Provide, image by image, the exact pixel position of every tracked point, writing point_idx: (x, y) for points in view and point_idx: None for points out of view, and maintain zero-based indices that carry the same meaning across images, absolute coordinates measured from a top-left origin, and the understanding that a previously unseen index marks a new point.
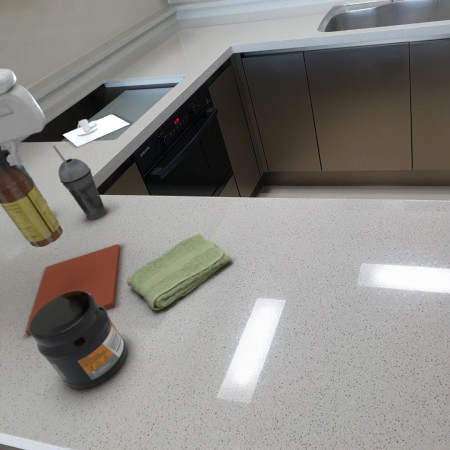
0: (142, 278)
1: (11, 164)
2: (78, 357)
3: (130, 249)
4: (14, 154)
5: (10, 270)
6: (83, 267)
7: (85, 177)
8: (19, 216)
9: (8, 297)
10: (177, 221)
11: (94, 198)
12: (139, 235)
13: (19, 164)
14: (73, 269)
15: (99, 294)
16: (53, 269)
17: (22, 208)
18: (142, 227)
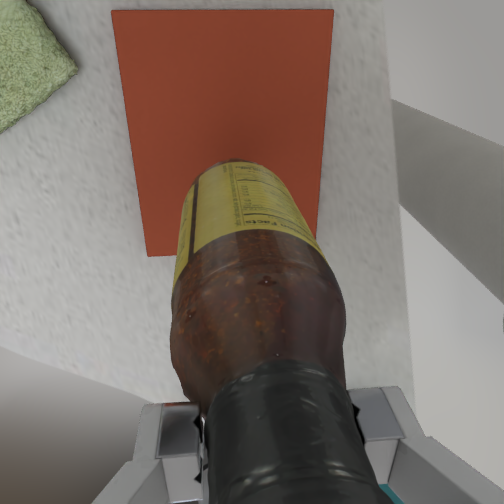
0: (10, 39)
1: (187, 413)
2: None
3: (120, 232)
4: (120, 473)
5: (395, 281)
6: None
7: (204, 464)
8: (259, 200)
9: (391, 188)
10: (16, 287)
11: None
12: (107, 275)
13: (145, 405)
14: None
15: (156, 68)
16: None
17: (231, 213)
18: (106, 301)
